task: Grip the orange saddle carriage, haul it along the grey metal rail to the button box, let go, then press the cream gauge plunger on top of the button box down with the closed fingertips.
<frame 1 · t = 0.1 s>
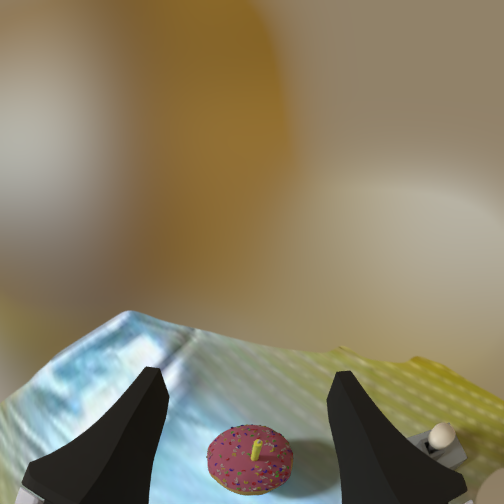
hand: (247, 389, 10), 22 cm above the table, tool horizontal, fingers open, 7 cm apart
button box: (406, 473, 19), on the table
cupcake: (250, 474, 22), on the table
plunger: (437, 440, 16), point 8 cm above the table, slide at 0.0 cm
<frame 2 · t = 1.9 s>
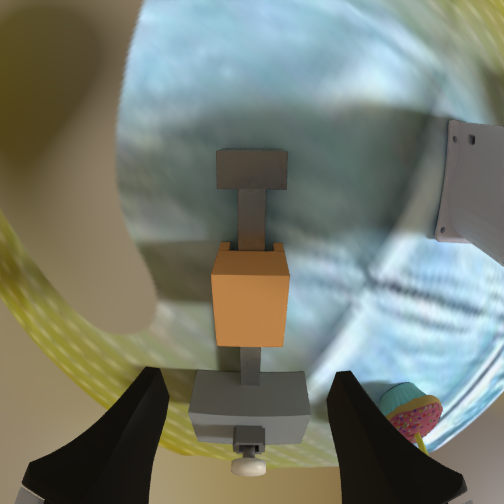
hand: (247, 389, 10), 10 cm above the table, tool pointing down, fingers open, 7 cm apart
button box: (250, 390, 25), on the table
cupcake: (398, 392, 26), on the table
plunger: (248, 458, 17), point 8 cm above the table, slide at 0.0 cm
carriage: (250, 293, 17), point 3 cm above the table, slide at 0.0 cm
rail: (251, 308, 20), on the table
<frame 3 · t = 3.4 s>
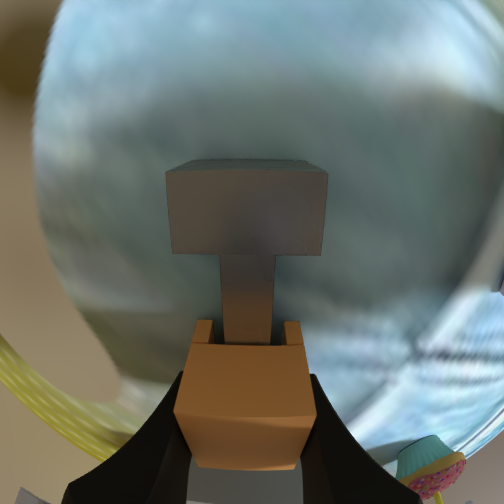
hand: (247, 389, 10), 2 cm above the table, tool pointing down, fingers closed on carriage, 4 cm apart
button box: (248, 460, 17), on the table
cupcake: (418, 444, 19), on the table
carriage: (246, 402, 9), point 2 cm above the table, slide at 0.0 cm, touching gripper
rail: (248, 395, 13), on the table
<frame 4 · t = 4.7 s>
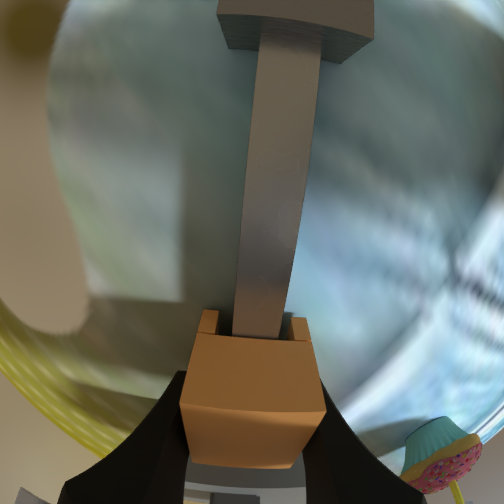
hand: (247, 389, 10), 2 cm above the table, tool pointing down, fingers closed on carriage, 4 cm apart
button box: (238, 433, 15), on the table
cupcake: (427, 428, 17), on the table
carriage: (248, 397, 9), point 2 cm above the table, slide at 5.4 cm, touching gripper
rail: (254, 312, 11), on the table
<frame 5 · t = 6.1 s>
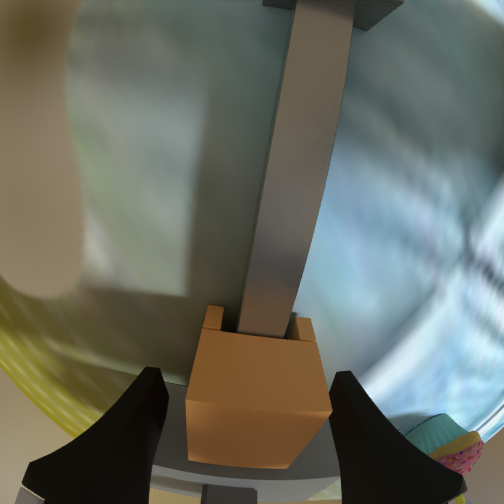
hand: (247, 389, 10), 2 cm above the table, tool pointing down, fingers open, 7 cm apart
button box: (233, 420, 14), on the table
cupcake: (426, 426, 17), on the table
carriage: (248, 396, 9), point 2 cm above the table, slide at 7.0 cm
rail: (267, 274, 10), on the table
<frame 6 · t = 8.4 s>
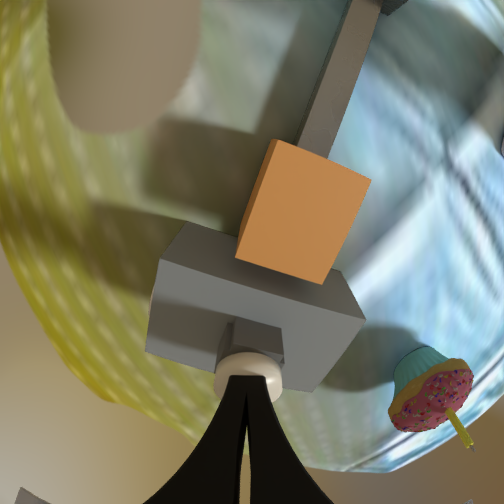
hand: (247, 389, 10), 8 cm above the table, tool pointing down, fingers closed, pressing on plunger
button box: (251, 288, 17), on the table
cupcake: (415, 362, 21), on the table
plunger: (248, 366, 11), point 7 cm above the table, slide at 1.2 cm, touching gripper
carriage: (295, 204, 12), point 2 cm above the table, slide at 7.0 cm
rail: (315, 126, 13), on the table
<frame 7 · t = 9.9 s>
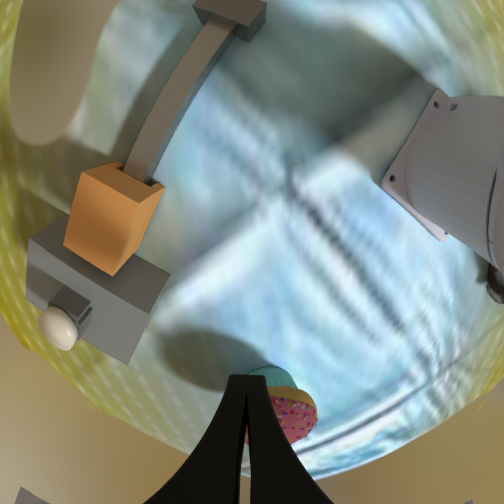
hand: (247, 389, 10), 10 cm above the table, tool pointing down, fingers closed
button box: (105, 272, 20), on the table
cupcake: (269, 380, 25), on the table
plunger: (64, 320, 14), point 7 cm above the table, slide at 1.2 cm
carriage: (113, 214, 15), point 3 cm above the table, slide at 7.0 cm
rail: (151, 152, 16), on the table
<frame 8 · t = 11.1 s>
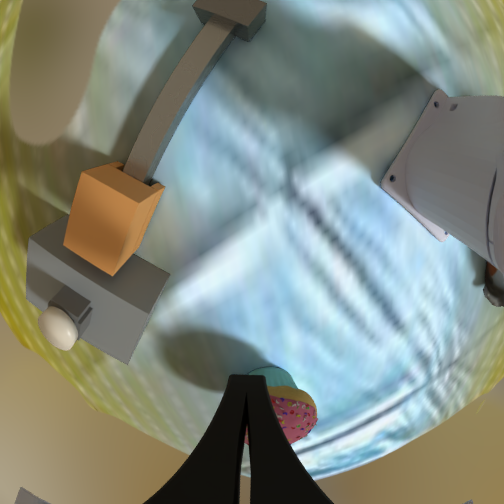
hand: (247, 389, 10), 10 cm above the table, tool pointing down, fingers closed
button box: (105, 272, 20), on the table
cupcake: (269, 380, 25), on the table
plunger: (64, 320, 14), point 7 cm above the table, slide at 1.2 cm
carriage: (113, 214, 15), point 2 cm above the table, slide at 7.0 cm
rail: (151, 152, 16), on the table
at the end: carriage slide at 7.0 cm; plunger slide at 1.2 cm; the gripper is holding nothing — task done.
